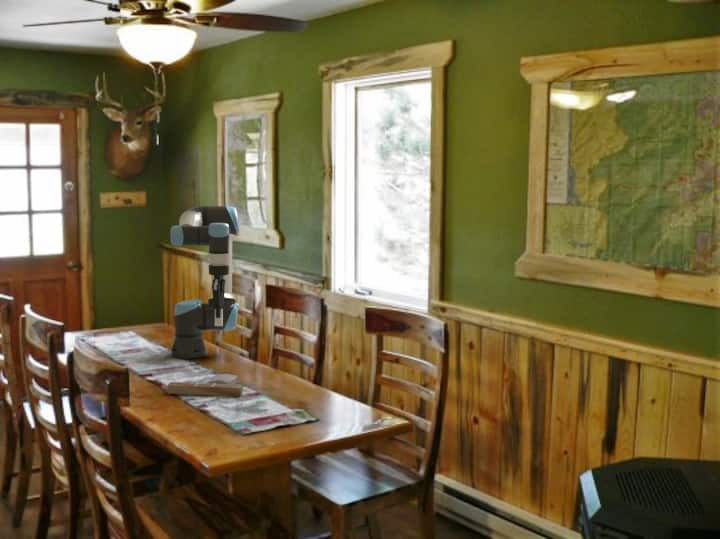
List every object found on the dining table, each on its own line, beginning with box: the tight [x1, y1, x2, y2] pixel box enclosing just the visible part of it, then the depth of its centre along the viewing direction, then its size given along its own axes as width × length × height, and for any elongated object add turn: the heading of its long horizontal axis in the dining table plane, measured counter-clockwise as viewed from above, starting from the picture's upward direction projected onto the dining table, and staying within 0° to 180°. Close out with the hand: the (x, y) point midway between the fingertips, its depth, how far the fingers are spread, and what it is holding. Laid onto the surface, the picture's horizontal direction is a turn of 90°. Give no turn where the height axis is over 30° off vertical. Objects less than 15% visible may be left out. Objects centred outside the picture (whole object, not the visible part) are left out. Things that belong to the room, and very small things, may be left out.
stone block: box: [206, 373, 239, 385], centre depth 287 cm, size 12×5×10 cm
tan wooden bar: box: [166, 381, 244, 397], centre depth 278 cm, size 4×26×3 cm, turn 88°
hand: (218, 325), depth 297 cm, fingers closed
